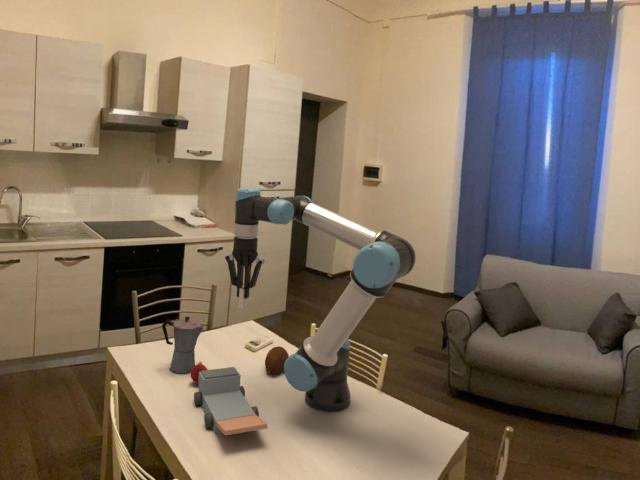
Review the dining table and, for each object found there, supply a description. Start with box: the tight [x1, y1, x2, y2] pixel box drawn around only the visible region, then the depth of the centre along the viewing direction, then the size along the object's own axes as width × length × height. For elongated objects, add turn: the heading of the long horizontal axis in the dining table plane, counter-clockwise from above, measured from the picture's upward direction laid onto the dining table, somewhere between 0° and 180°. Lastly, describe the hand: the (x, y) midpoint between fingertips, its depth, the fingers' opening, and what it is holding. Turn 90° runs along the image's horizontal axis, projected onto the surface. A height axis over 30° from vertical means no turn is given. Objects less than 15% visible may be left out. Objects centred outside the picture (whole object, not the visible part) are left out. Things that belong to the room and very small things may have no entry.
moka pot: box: [161, 316, 205, 374], centre depth 192 cm, size 10×15×20 cm, turn 89°
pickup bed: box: [193, 366, 260, 434], centre depth 165 cm, size 22×16×10 cm
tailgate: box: [216, 415, 268, 436], centre depth 151 cm, size 2×12×10 cm
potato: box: [264, 346, 290, 375], centre depth 198 cm, size 8×12×9 cm
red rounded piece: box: [189, 361, 208, 385], centre depth 183 cm, size 6×6×8 cm
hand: (242, 307), depth 175 cm, fingers closed
